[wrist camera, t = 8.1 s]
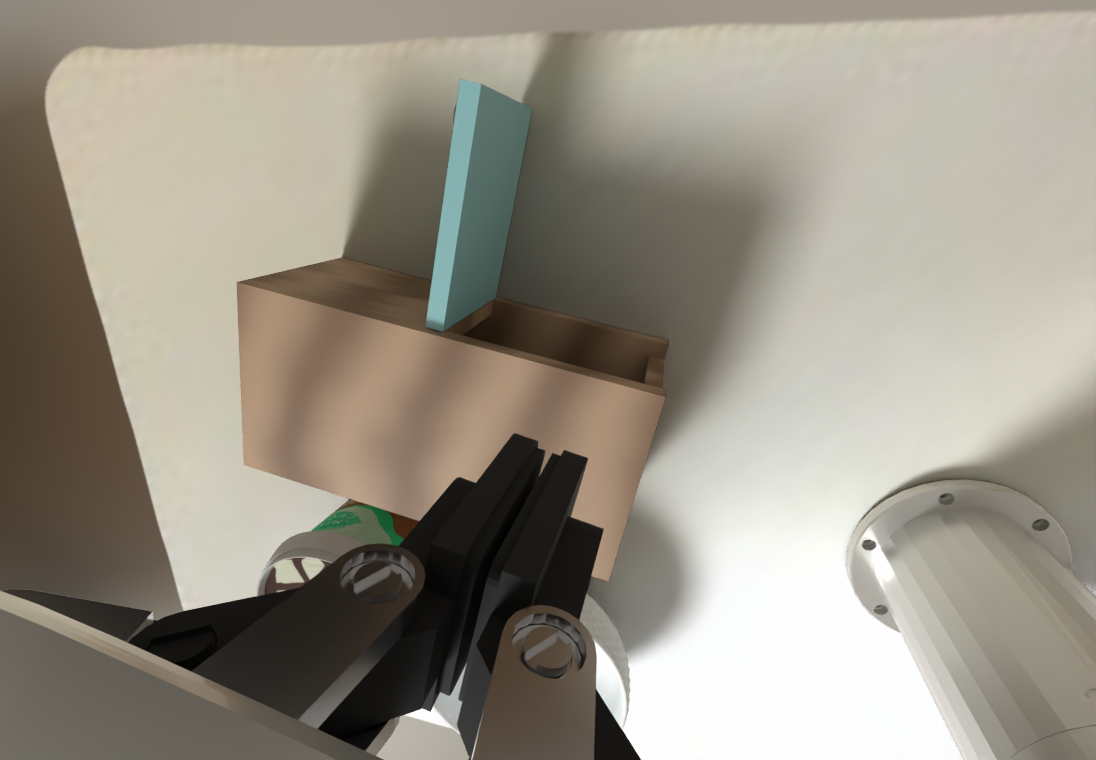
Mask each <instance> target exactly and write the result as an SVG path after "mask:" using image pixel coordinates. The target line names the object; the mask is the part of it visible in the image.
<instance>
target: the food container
mask: <svg viewBox="0 0 1096 760" xmlns="http://www.w3.org/2000/svg"><path fill="white" fill-rule="evenodd" d="M418 522H419V521H418V520H414V519H411V518H408V517H405V516H402V515H399V514H396V513H393V512H390V511H386V510H383V509H380V508H377V507H374V506H371V505H368V504H365V503H361V502H358V501H355V500H352V499H350V500H348V501H347V502H346V503H345V504H343V505H342V506H341V507H340V508H339V509H337V510H336V511H335V512H334V513H332V514H331V515H330V516H329V517H328V518H326V519H325V520H324V521H323V522H321V523H320V524H319V525H318V526H316V527H315V528H314V529H313V530H312V531H310V532H305V533H300V534H297V535H295V536H292V537H290V538H289V539H287V540H286V541H285V542H283V543H282V544H281V545H280V546H279V548H278V549H277V550H276V551H275V553H274V554H273V556H272V557H271V559H270V560H269V562H268V563H267V565H266V566H265V568H264V570H263V572H262V575H261V578H260V580H259V583H258V587H257V596H261V595H266V594H270V593H275V592H280V591H285V590H290V589H295V588H300V587H302V586H303V585H304V584H305V583H307V582H308V581H309V580H311V579H312V578H313V577H315V576H316V575H317V574H318V573H320V572H321V571H322V570H324V569H325V568H326V567H328V566H329V565H330V564H331V563H333V562H334V561H335V560H337V559H338V558H339V557H341V556H342V555H343V554H345V553H347V552H349V551H350V550H352V549H354V548H357V547H360V546H363V545H367V544H378V543H384V544H391V545H396V546H399V545H400V544H401V542H402V541H403V540H404V539H405V538H406V537H407V535H408V534H409V533H410V532H411V531H412V529H413V528H414V527H415V526H416V525H417V523H418Z"/></svg>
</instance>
